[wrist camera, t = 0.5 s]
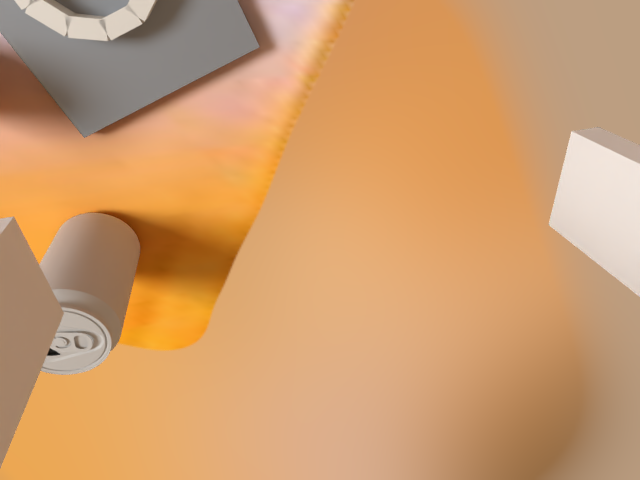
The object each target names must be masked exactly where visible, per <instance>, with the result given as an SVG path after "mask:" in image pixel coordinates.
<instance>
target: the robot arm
mask: <svg viewBox="0 0 640 480" xmlns="http://www.w3.org/2000/svg"><path fill="white" fill-rule="evenodd" d="M549 226H551V227H552V228H554V230H556V231H557V232H558V233H560V234H561V235H562V236H563V237H565V238H566V239H567V240H569V241H570V242H571V243H572V244H573V245H575V246H576V247H577V248H579V249H580V250H581V251H582V252H584V253H585V254H586V255H587V256H589V257H590V258H591V259H593V260H594V261H595V262H596V263H598V264H599V265H600V266H601V267H603V268H604V269H605V270H606V271H608V272H609V273H610V274H611V275H613V276H614V277H615V278H617V279H618V280H619V281H620V282H622V283H623V284H624V285H626V286H627V287H628V288H629V289H631V290H632V291H633V292H634V293H636V294H637V295H638V296H639V297H640V145H639V144H636V143H634V142H632V141H629V140H627V139H625V138H622V137H620V136H618V135H616V134H613V133H611V132H609V131H606V130H604V129H602V128H600V127H596V128H590V129H583V130H578V131H572V132H571V136H570V140H569V144H568V148H567V152H566V157H565V161H564V165H563V168H562V173H561V177H560V181H559V185H558V189H557V193H556V197H555V201H554V205H553V209H552V213H551V217H550V222H549ZM63 315H64V312H63V310H62V308H61V306H60V304H59V303H58V301H57V299H56V297H55V295H54V293H53V291H52V289H51V287H50V285H49V283H48V281H47V279H46V277H45V276H44V274H43V272H42V270H41V268H40V266H39V264H38V262H37V260H36V258H35V256H34V254H33V252H32V251H31V249H30V247H29V245H28V243H27V241H26V239H25V237H24V235H23V233H22V231H21V229H20V227H19V225H18V224H17V222H16V220H15V218H14V217H8V218H2V219H0V468H1V465H2V463H3V460H4V458H5V455H6V453H7V451H8V448H9V446H10V443H11V441H12V438H13V436H14V434H15V431H16V429H17V426H18V424H19V421H20V419H21V416H22V414H23V412H24V409H25V407H26V404H27V402H28V399H29V397H30V395H31V392H32V390H33V388H34V385H35V383H36V380H37V378H38V375H39V373H40V371H41V368H42V366H43V363H44V361H45V358H46V356H47V354H48V351H49V349H50V346H51V344H52V341H53V339H54V337H55V334H56V332H57V329H58V327H59V325H60V322H61V320H62V317H63Z"/></svg>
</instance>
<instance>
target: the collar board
mask: <svg viewBox="0 0 640 480" xmlns="http://www.w3.org/2000/svg"><path fill="white" fill-rule="evenodd" d="M0 33H1V34H2V35H3V36H4V38H5V39H6V40H7V41H8V43H9V44H10V45H11V46H12V48H13V49H14V50H15V51H16V53H17V54H18V55H19V56H20V58H21V59H22V60H23V62H24V63H25V64H26V65H27V67H28V68H29V69H30V70H31V72H32V73H33V74H34V75H35V77H36V78H37V79H38V80H39V82H40V83H41V84H42V85H43V87H44V88H45V89H46V90H47V92H48V93H49V94H50V95H51V97H52V98H53V99H54V100H55V102H56V103H57V104H58V105H59V107H60V108H61V109H62V111H63V112H64V113H65V114H66V116H67V117H68V118H69V119H70V121H71V122H72V123H73V124H74V126H75V127H76V128H77V129H78V131H79V132H80V133H81V134H82V136H83V137H84V138H85V137H87V136H89V135H91V134H93V133H95V132H96V131H98V130H100V129H102V128H104V127H106V126H108V125H110V124H112V123H114V122H116V121H118V120H120V119H122V118H124V117H125V116H127V115H129V114H131V113H133V112H135V111H137V110H139V109H141V108H143V107H145V106H147V105H149V104H151V103H152V102H154V101H156V100H158V99H160V98H162V97H164V96H166V95H168V94H170V93H172V92H174V91H176V90H178V89H180V88H181V87H183V86H185V85H187V84H189V83H191V82H193V81H195V80H197V79H199V78H201V77H203V76H205V75H207V74H209V73H210V72H212V71H214V70H216V69H218V68H220V67H222V66H224V65H226V64H228V63H230V62H232V61H234V60H236V59H238V58H239V57H241V56H243V55H245V54H247V53H249V52H251V51H253V50H255V49H257V48H259V47H260V46H259V44H258V42H257V40H256V38H255V36H254V34H253V32H252V30H251V28H250V25H249V23H248V21H247V19H246V17H245V15H244V13H243V11H242V9H241V7H240V5H239V2H238V0H0Z"/></svg>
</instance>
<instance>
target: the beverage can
mask: <svg viewBox="0 0 640 480" xmlns="http://www.w3.org/2000/svg"><path fill="white" fill-rule="evenodd" d="M139 256H140V243H139V240H138V237H137V235H136V234H135V232H134V231H133V230H132V228H131V227H130V226H129V225H127V224H126V223H125V222H123V221H122V220H120V219H118V218H116V217H114V216H111V215H107V214H103V213H85V214H80V215H77V216H74V217H72V218H70V219H69V220H67V221H66V222H65V223H64V224H63V225H62V226H61V227H60V229H59V231H58V232H57V234H56V236H55V238H54V239H53V241H52V243H51V245H50V247H49V248H48V250H47V252H46V254H45V255H44V257H43V259H42V261H41V263H40V264H39V266H40V268H41V270H42V272H43V274H44V276H45V277H46V279H47V281H48V283H49V285H50V287H51V289H52V291H53V293H54V295H55V297H56V299H57V301H58V303H59V304H60V306H61V308H62V310H63V312H64V315H63V317H62V320H61V322H60V325H59V327H58V329H57V332H56V334H55V337H54V339H53V341H52V344H51V346H50V349H49V351H48V354H47V356H46V358H45V361H44V363H43V366H42V368H41V371H43V372H47V373H51V374H61V375H66V374H77V373H82V372H85V371H88V370H91V369H93V368H95V367H96V366H98V365H99V364H101V363H102V362H103V361H104V360H105V359H106V358H107V356H108V355H109V353H110V351H111V350H112V349H113V348H114V347H115V346H116V345H117V343H118V341H119V339H120V336H121V332H122V328H123V323H124V319H125V315H126V311H127V307H128V302H129V298H130V294H131V290H132V286H133V281H134V277H135V273H136V269H137V264H138V260H139Z"/></svg>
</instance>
